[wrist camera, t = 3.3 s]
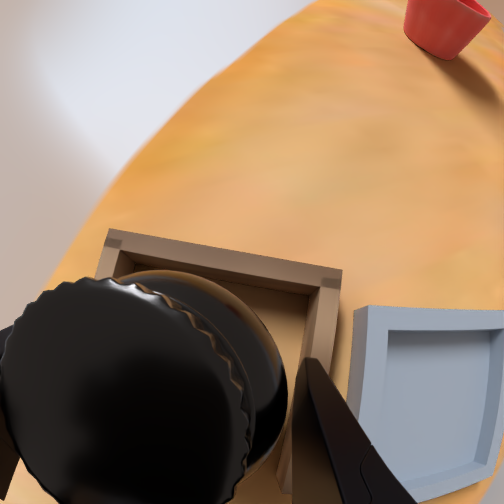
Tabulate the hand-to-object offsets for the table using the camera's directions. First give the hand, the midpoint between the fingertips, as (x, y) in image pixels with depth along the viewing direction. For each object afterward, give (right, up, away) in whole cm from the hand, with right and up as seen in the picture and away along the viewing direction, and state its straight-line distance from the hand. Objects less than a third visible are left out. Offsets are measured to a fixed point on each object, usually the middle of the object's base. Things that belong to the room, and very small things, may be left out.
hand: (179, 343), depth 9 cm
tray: (+13, -7, +6) cm, 16 cm away
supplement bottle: (-1, -4, +7) cm, 7 cm away
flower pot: (+25, +30, +18) cm, 43 cm away
